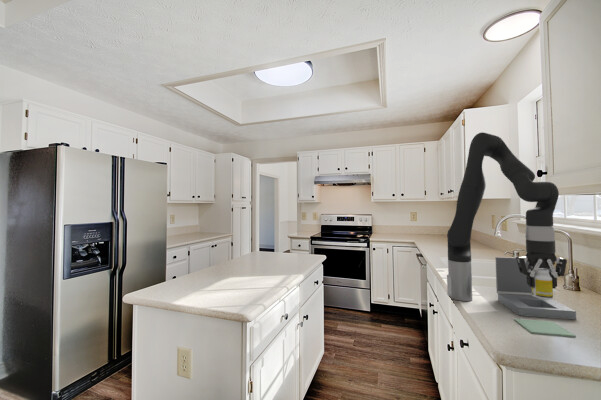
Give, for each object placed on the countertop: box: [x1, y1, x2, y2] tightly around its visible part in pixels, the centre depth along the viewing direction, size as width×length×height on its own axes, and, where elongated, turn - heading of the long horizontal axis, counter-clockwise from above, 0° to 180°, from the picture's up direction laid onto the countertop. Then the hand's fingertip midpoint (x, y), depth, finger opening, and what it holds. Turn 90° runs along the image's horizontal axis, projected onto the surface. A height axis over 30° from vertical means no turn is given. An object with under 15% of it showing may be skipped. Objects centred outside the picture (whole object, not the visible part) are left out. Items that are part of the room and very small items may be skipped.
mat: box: [513, 318, 576, 338], centre depth 89 cm, size 12×10×1 cm
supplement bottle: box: [531, 268, 554, 300], centre depth 89 cm, size 5×5×10 cm
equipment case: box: [495, 256, 577, 320], centre depth 105 cm, size 18×17×19 cm
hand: (541, 287), depth 89 cm, fingers closed on supplement bottle, 5 cm apart
